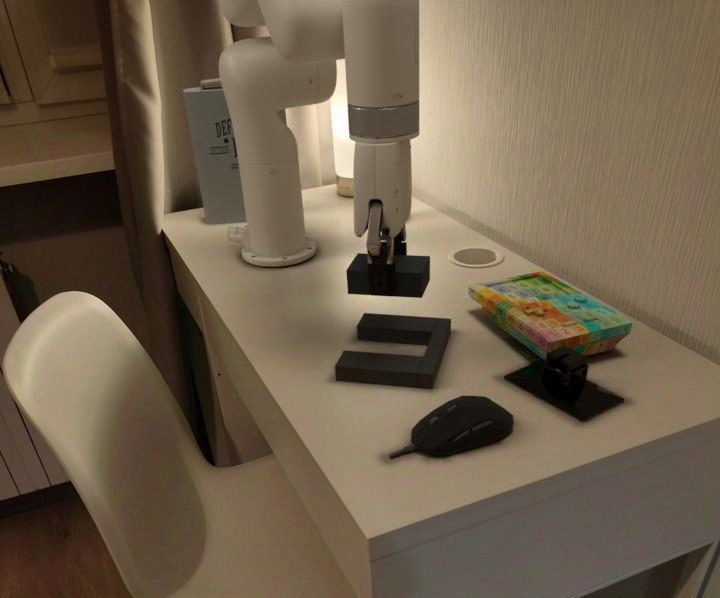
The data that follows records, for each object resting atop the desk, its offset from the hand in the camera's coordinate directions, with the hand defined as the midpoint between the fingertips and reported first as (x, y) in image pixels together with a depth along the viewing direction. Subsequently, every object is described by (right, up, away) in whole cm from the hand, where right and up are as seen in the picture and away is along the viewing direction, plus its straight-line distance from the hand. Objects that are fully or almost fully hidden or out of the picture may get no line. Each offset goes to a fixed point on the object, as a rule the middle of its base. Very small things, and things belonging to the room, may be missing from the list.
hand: (388, 283), depth 87 cm
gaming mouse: (+6, -19, -9) cm, 22 cm away
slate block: (0, 0, 0) cm, 0 cm away
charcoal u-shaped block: (+1, -8, +6) cm, 10 cm away
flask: (-24, +27, +53) cm, 64 cm away
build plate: (+20, -13, -2) cm, 24 cm away
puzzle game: (+21, -4, +9) cm, 23 cm away
